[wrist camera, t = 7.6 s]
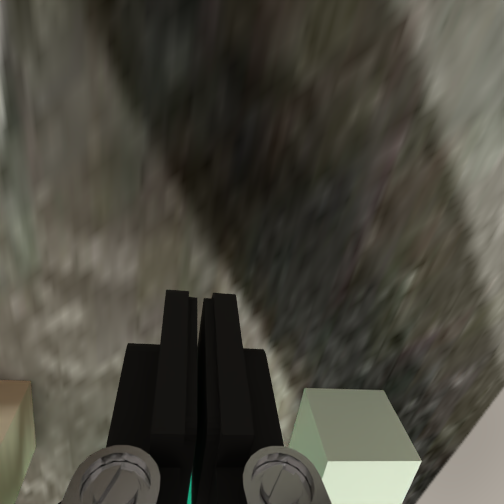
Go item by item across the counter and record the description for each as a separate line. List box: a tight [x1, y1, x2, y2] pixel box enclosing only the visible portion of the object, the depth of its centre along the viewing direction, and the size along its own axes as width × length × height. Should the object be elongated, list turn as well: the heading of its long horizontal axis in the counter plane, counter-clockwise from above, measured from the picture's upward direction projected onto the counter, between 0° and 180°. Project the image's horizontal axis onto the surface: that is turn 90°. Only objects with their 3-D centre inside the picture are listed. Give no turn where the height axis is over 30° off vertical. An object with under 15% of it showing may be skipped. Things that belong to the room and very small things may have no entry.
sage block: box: [289, 388, 422, 504], centre depth 22 cm, size 4×4×4 cm
